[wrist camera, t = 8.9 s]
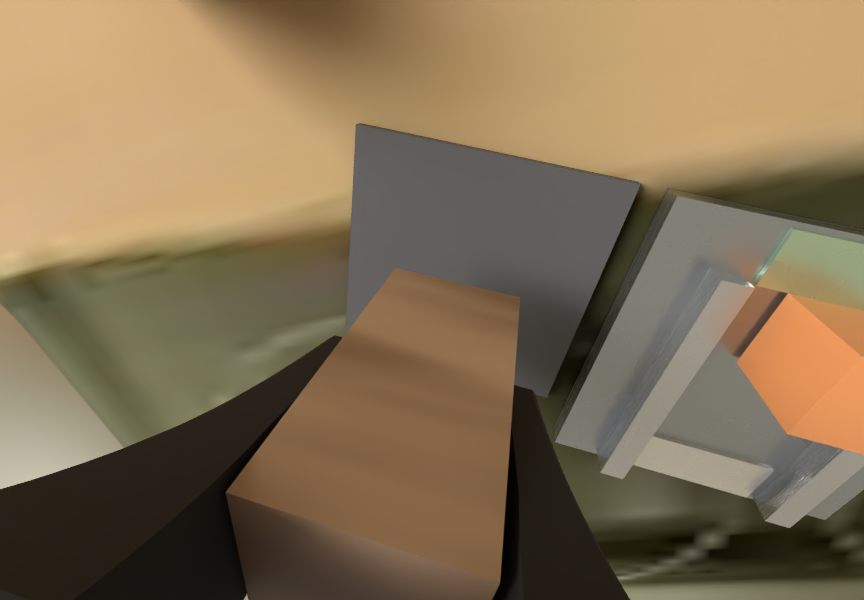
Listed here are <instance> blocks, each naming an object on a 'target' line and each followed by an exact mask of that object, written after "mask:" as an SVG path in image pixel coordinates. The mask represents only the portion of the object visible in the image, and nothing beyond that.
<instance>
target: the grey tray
mask: <svg viewBox="0 0 864 600" xmlns="http://www.w3.org/2000/svg"><path fill="white" fill-rule="evenodd" d="M788 293H789V294H794V295H798V296H802V297H807V298H811V299H815V300H820V301H824V302H828V303H833V304H837V305H841V306H846V307H850V308H854V309H858V310H863V311H864V230H863V229H859V228H854V227H849V226H844V225H840V224H835V223H830V222H826V221H821V220H816V219H811V218H807V217H802V216H797V215H792V214H788V213H783V212H778V211H773V210H769V209H764V208H759V207H754V206H750V205H745V204H740V203H735V202H731V201H726V200H721V199H717V198H712V197H707V196H702V195H698V194H693V193H688V192H683V191H679V190H674V189H669V188H668V190H667V192H666V194H665V196H664V198H663V200H662V202H661V204H660V206H659V208H658V211H657V213H656V215H655V217H654V219H653V221H652V223H651V225H650V227H649V229H648V231H647V233H646V236H645V238H644V240H643V242H642V244H641V246H640V248H639V250H638V252H637V254H636V256H635V258H634V261H633V263H632V265H631V267H630V269H629V271H628V273H627V275H626V277H625V279H624V281H623V283H622V286H621V288H620V290H619V292H618V294H617V296H616V298H615V300H614V302H613V304H612V306H611V308H610V311H609V313H608V315H607V317H606V319H605V321H604V323H603V325H602V327H601V329H600V331H599V333H598V336H597V338H596V340H595V342H594V344H593V346H592V348H591V350H590V352H589V354H588V356H587V358H586V361H585V363H584V365H583V367H582V369H581V371H580V373H579V375H578V377H577V379H576V381H575V383H574V386H573V388H572V390H571V392H570V394H569V396H568V398H567V400H566V402H565V404H564V406H563V408H562V411H561V413H560V415H559V417H558V419H557V421H556V423H555V425H554V434H555V442H556V443H560V444H563V445H567V446H570V447H574V448H577V449H581V450H584V451H587V452H591V453H594V454H597V456H598V462H599V468H600V473H603V474H607V475H610V476H614V477H617V478H620V479H623V478H624V477H625V476H626V474H627V473H628V471H629V470H630V468H631V467H632V465H635V466H639V467H642V468H646V469H649V470H653V471H656V472H660V473H663V474H666V475H670V476H673V477H677V478H680V479H684V480H687V481H691V482H694V483H698V484H701V485H705V486H708V487H712V488H715V489H718V490H722V491H725V492H729V493H732V494H736V495H739V496H743V497H746V498H750V499H754V501H755V503H756V505H757V507H758V509H759V511H760V513H761V515H762V516H763V518H764V520H765V521H767V522H770V523H774V524H777V525H780V526H784V527H787V528H790V527H792V526H793V525H794V524H795V523H796V522H798V521H799V520H800V519H801V518H802V517H804V516H805V515H809V516H813V517H816V518H820V519H823V520H826V519H827V518H828V517H830V516H831V515H832V514H833V513H835V512H836V511H837V510H838V509H840V508H841V507H842V506H843V505H845V504H846V503H847V502H849V501H850V500H851V499H852V498H854V497H855V496H856V495H857V494H859V493H860V492H861V491H862V490H864V455H863V454H859V453H856V452H852V451H848V450H844V449H841V448H837V447H833V446H830V445H826V444H822V443H818V442H815V441H811V440H807V439H804V438H800V437H796V436H792V435H789V434H787V433H786V432H785V431H784V429H783V428H782V426H781V425H780V423H779V422H778V421H777V419H776V418H775V416H774V415H773V413H772V412H771V411H770V409H769V408H768V406H767V405H766V404H765V402H764V401H763V399H762V398H761V396H760V395H759V394H758V392H757V391H756V389H755V388H754V386H753V385H752V384H751V382H750V381H749V379H748V378H747V376H746V375H745V374H744V372H743V371H742V369H741V368H740V366H739V365H738V364H737V361H738V359H739V358H740V357H741V356H742V354H743V353H744V352H745V350H746V349H747V348H748V346H749V345H750V344H751V342H752V341H753V340H754V338H755V337H756V336H757V334H758V333H759V332H760V330H761V329H762V328H763V326H764V325H765V324H766V322H767V321H768V320H769V318H770V317H771V316H772V314H773V313H774V312H775V310H776V309H777V308H778V306H779V305H780V304H781V302H782V301H783V300H784V298H785V297H786V296H787V294H788Z"/></svg>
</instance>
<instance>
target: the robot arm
mask: <svg viewBox="0 0 864 600" xmlns="http://www.w3.org/2000/svg"><path fill="white" fill-rule="evenodd" d="M341 339H342V337H339V336H333V337H331V338H329V339H328V340H326V341H325V342H323V343H322V344H320V345H319V346H317V347H316V348H314V349H313V350H311V351H310V352H308V353H307V354H305V355H304V356H302V357H301V358H299V359H298V360H296V361H295V362H293V363H292V364H290V365H288V366H287V367H285V368H284V369H282V370H280V371H279V372H277V373H276V374H274V375H272V376H271V377H269V378H268V379H266V380H264V381H263V382H261V383H259V384H258V385H256V386H254V387H252V388H250V389H249V390H247V391H245V392H243V393H242V394H240V395H238V396H236V397H235V398H233V399H231V400H229V401H227V402H225V403H224V404H222V405H220V406H218V407H216V408H214V409H212V410H210V411H208V412H206V413H204V414H202V415H200V416H198V417H196V418H194V419H191V420H189V421H187V422H185V423H183V424H181V425H179V426H176V427H174V428H172V429H169V430H167V431H165V432H162V433H160V434H157V435H155V436H152V437H150V438H148V439H145V440H143V441H140V442H138V443H135V444H133V445H130V446H128V447H126V448H123V449H121V450H118V451H116V452H113V453H110V454H107V455H104V456H102V457H99V458H96V459H93V460H91V461H88V462H85V463H82V464H79V465H76V466H73V467H70V468H67V469H64V470H61V471H58V472H56V473H53V474H49V475H46V476H43V477H40V478H37V479H34V480H31V481H27V482H24V483H20V484H17V485H14V486H10V487H7V488H3V489H0V600H244V598H245V596H246V594H247V590H246V585H245V581H244V576H243V571H242V567H241V562H240V557H239V553H238V548H237V543H236V539H235V534H234V529H233V525H232V520H231V515H230V511H229V506H228V501H227V497H226V491H227V490H228V489H229V487H230V486H231V485H232V483H233V482H234V481H235V479H236V478H237V477H238V475H239V474H240V473H241V471H242V470H243V469H244V467H245V466H246V465H247V463H248V462H249V461H250V460H251V458H252V457H253V456H254V454H255V453H256V452H257V450H258V449H259V448H260V446H261V445H262V444H263V442H264V441H265V440H266V438H267V437H268V436H269V434H270V433H271V432H272V430H273V429H274V428H275V426H276V425H277V424H278V422H279V421H280V420H281V419H282V417H283V416H284V415H285V413H286V412H287V411H288V409H289V408H290V407H291V405H292V404H293V403H294V401H295V400H296V399H297V397H298V396H299V395H300V393H301V392H302V391H303V389H304V388H305V387H306V385H307V384H308V383H309V382H310V380H311V379H312V378H313V376H314V375H315V374H316V372H317V371H318V370H319V368H320V367H321V366H322V364H323V363H324V362H325V360H326V359H327V358H328V356H329V355H330V354H331V352H332V351H333V350H334V348H335V347H336V346H337V344H338V343H339V342H340V341H341ZM492 600H630V599H629V597H628V596H627V594H626V592H625V591H624V589H623V587H622V585H621V584H620V582H619V580H618V579H617V577H616V575H615V573H614V572H613V570H612V568H611V567H610V565H609V563H608V562H607V560H606V558H605V556H604V554H603V552H602V551H601V549H600V547H599V545H598V543H597V542H596V540H595V538H594V536H593V534H592V532H591V530H590V528H589V526H588V524H587V522H586V520H585V518H584V516H583V514H582V512H581V510H580V508H579V506H578V504H577V502H576V500H575V498H574V496H573V493H572V491H571V489H570V487H569V485H568V482H567V480H566V478H565V476H564V473H563V471H562V468H561V466H560V463H559V461H558V459H557V456H556V454H555V451H554V449H553V446H552V444H551V441H550V438H549V435H548V433H547V430H546V427H545V424H544V421H543V418H542V415H541V412H540V409H539V406H538V402H537V399H536V395H535V393H534V392H533V390H531V389H527V388H524V387H520V386H516V385H514V392H513V407H512V421H511V435H510V449H509V464H508V478H507V492H506V506H505V520H504V535H503V549H502V563H501V577H500V584H499V586H498V588H497V590H496V592H495V595H494V597H493V599H492Z"/></svg>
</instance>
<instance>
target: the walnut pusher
mask: <svg viewBox="0 0 864 600" xmlns="http://www.w3.org/2000/svg"><path fill="white" fill-rule="evenodd" d="M519 307H520V297H517V296H513V295H508V294H504V293H500V292H496V291H491V290H487V289H483V288H479V287H474V286H470V285H466V284H462V283H457V282H453V281H449V280H445V279H440V278H436V277H432V276H428V275H423V274H419V273H415V272H411V271H406V270H402V269H398V268H395V269H394V270H393V272H392V273H391V274H390V276H389V277H388V278H387V280H386V281H385V282H384V284H383V285H382V286H381V288H380V289H379V290H378V292H377V293H376V294H375V296H374V297H373V298H372V300H371V301H370V302H369V304H368V305H367V306H366V307H365V309H364V310H363V311H362V313H361V314H360V315H359V317H358V318H357V319H356V321H355V322H354V323H353V325H352V326H351V327H350V329H349V330H348V331H347V333H346V334H345V335H344V337H343V338H342V339H341V341H340V342H339V343H338V344H337V346H336V347H335V348H334V350H333V351H332V352H331V354H330V355H329V356H328V358H327V359H326V360H325V362H324V363H323V364H322V366H321V367H320V368H319V370H318V371H317V372H316V374H315V375H314V376H313V378H312V379H311V380H310V382H309V383H308V384H307V385H306V387H305V388H304V389H303V391H302V392H301V393H300V395H299V396H298V397H297V399H296V400H295V401H294V403H293V404H292V405H291V407H290V408H289V409H288V411H287V412H286V413H285V415H284V416H283V417H282V419H281V420H280V421H279V422H278V424H277V425H276V426H275V428H274V429H273V430H272V432H271V433H270V434H269V436H268V437H267V438H266V440H265V441H264V442H263V444H262V445H261V446H260V448H259V449H258V450H257V452H256V453H255V454H254V456H253V457H252V458H251V460H250V461H249V462H248V463H247V465H246V466H245V467H244V469H243V470H242V471H241V473H240V474H239V475H238V477H237V478H236V479H235V481H234V482H233V483H232V485H231V486H230V487H229V489H228V490H227V491H226V497H227V501H228V506H229V511H230V515H231V520H232V525H233V529H234V534H235V539H236V543H237V548H238V553H239V557H240V562H241V567H242V571H243V576H244V581H245V585H246V590H247V595H248V599H249V600H492V599H493V597H494V595H495V592H496V590H497V588H498V586H499V584H500V577H501V563H502V549H503V535H504V520H505V506H506V492H507V478H508V464H509V449H510V435H511V421H512V407H513V392H514V378H515V364H516V350H517V336H518V321H519Z"/></svg>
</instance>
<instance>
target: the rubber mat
mask: <svg viewBox="0 0 864 600" xmlns="http://www.w3.org/2000/svg"><path fill="white" fill-rule="evenodd" d="M639 187H640V184H639V183H638V182H636V181H631V180H627V179H622V178H617V177H612V176H608V175H603V174H598V173H593V172H589V171H584V170H579V169H574V168H570V167H565V166H560V165H555V164H551V163H546V162H541V161H537V160H532V159H527V158H522V157H518V156H513V155H508V154H503V153H499V152H494V151H489V150H484V149H480V148H475V147H470V146H465V145H461V144H456V143H451V142H447V141H442V140H437V139H432V138H428V137H423V136H418V135H413V134H409V133H404V132H399V131H394V130H390V129H385V128H380V127H375V126H371V125H366V124H361V123H360V124H356V136H355V155H354V175H353V195H352V214H351V234H350V254H349V273H348V293H347V313H346V332H345V334H346V333H347V331H348V330H349V329H350V327H351V326H352V325H353V323H354V322H355V321H356V319H357V318H358V317H359V315H360V314H361V313H362V311H363V310H364V309H365V307H366V306H367V305H368V304H369V302H370V301H371V300H372V298H373V297H374V296H375V294H376V293H377V292H378V290H379V289H380V288H381V286H382V285H383V284H384V282H385V281H386V280H387V278H388V277H389V276H390V274H391V273H392V272H393V270H394V269H395V268H398V269H402V270H406V271H411V272H415V273H419V274H423V275H428V276H432V277H436V278H440V279H445V280H449V281H453V282H457V283H462V284H466V285H470V286H474V287H479V288H483V289H487V290H491V291H496V292H500V293H504V294H508V295H513V296H517V297H520V307H519V321H518V336H517V350H516V364H515V378H514V385H516V386H520V387H524V388H527V389H531V390H533V392H534V393H535V395H538V396H542V397H545V398H547V396H548V394H549V392H550V389H551V387H552V385H553V383H554V380H555V378H556V376H557V373H558V371H559V369H560V367H561V364H562V362H563V360H564V358H565V355H566V353H567V351H568V348H569V346H570V344H571V342H572V339H573V337H574V335H575V333H576V330H577V328H578V326H579V323H580V321H581V319H582V317H583V314H584V312H585V310H586V308H587V305H588V303H589V301H590V299H591V296H592V294H593V292H594V289H595V287H596V285H597V283H598V280H599V278H600V276H601V274H602V271H603V269H604V267H605V264H606V262H607V260H608V258H609V255H610V253H611V251H612V249H613V246H614V244H615V242H616V239H617V237H618V235H619V233H620V230H621V228H622V226H623V224H624V221H625V219H626V217H627V214H628V212H629V210H630V208H631V205H632V203H633V201H634V199H635V196H636V194H637V192H638V189H639Z"/></svg>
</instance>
